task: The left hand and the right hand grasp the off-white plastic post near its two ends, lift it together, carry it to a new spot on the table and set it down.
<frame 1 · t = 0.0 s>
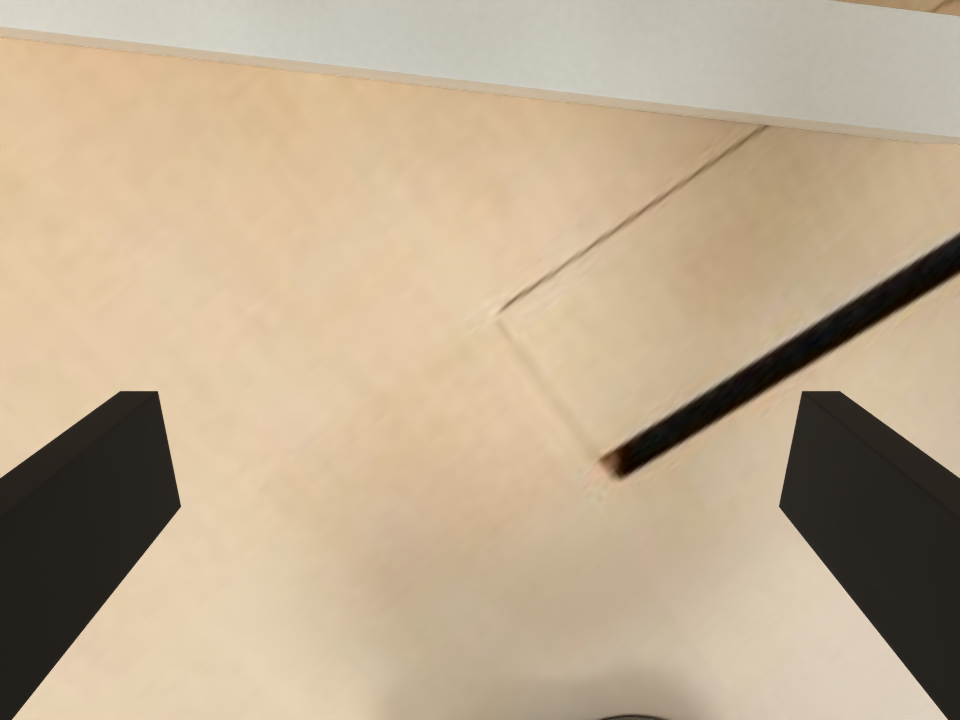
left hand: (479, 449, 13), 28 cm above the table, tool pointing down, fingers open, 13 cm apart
post: (314, 24, 35), on the table
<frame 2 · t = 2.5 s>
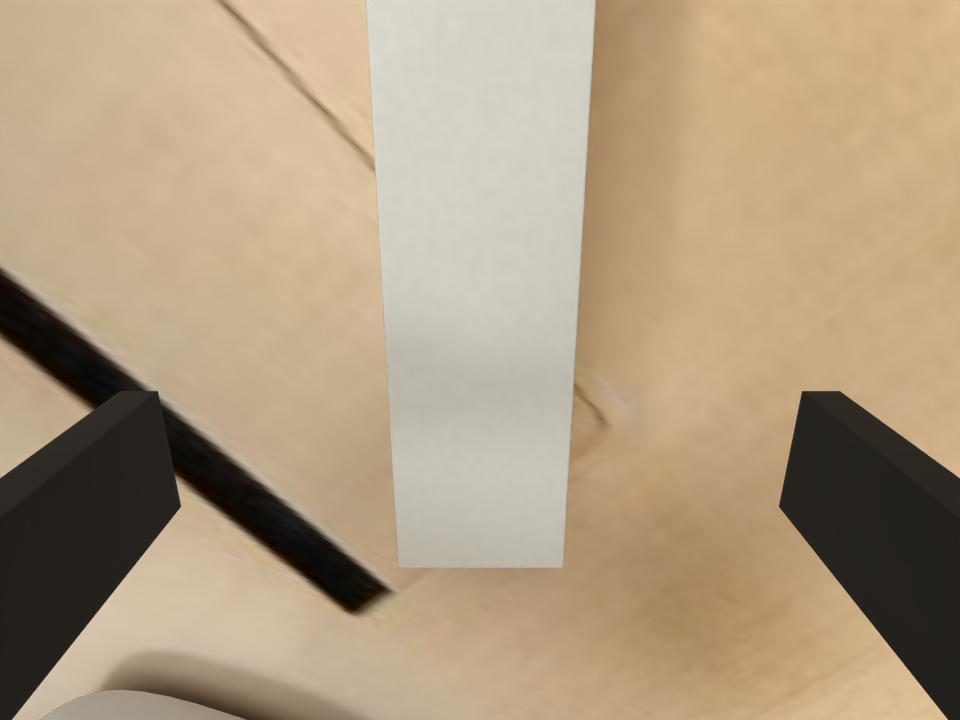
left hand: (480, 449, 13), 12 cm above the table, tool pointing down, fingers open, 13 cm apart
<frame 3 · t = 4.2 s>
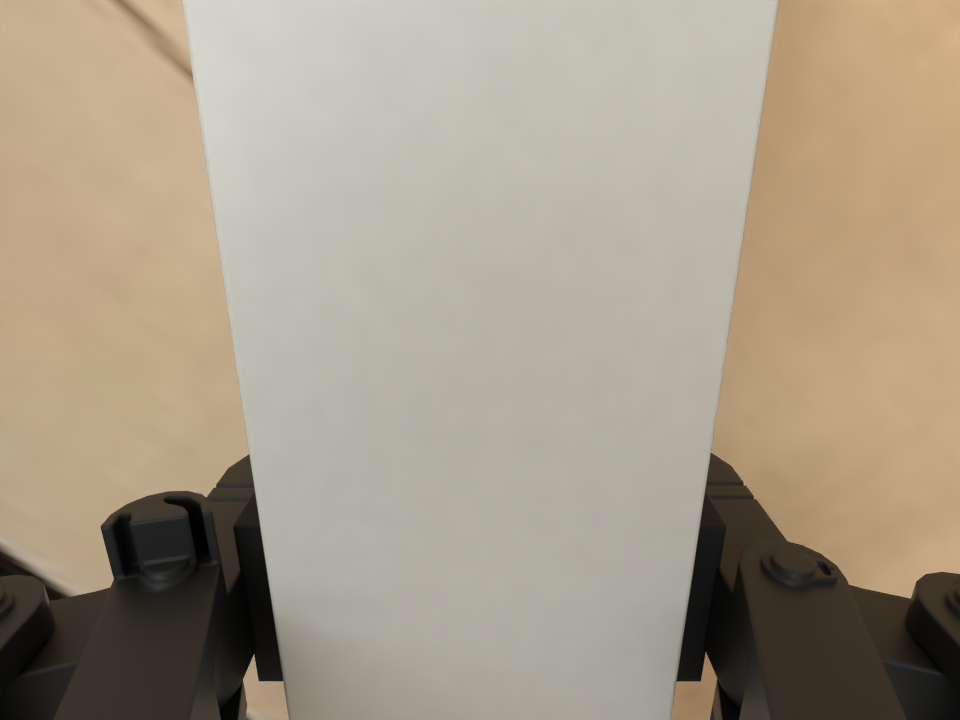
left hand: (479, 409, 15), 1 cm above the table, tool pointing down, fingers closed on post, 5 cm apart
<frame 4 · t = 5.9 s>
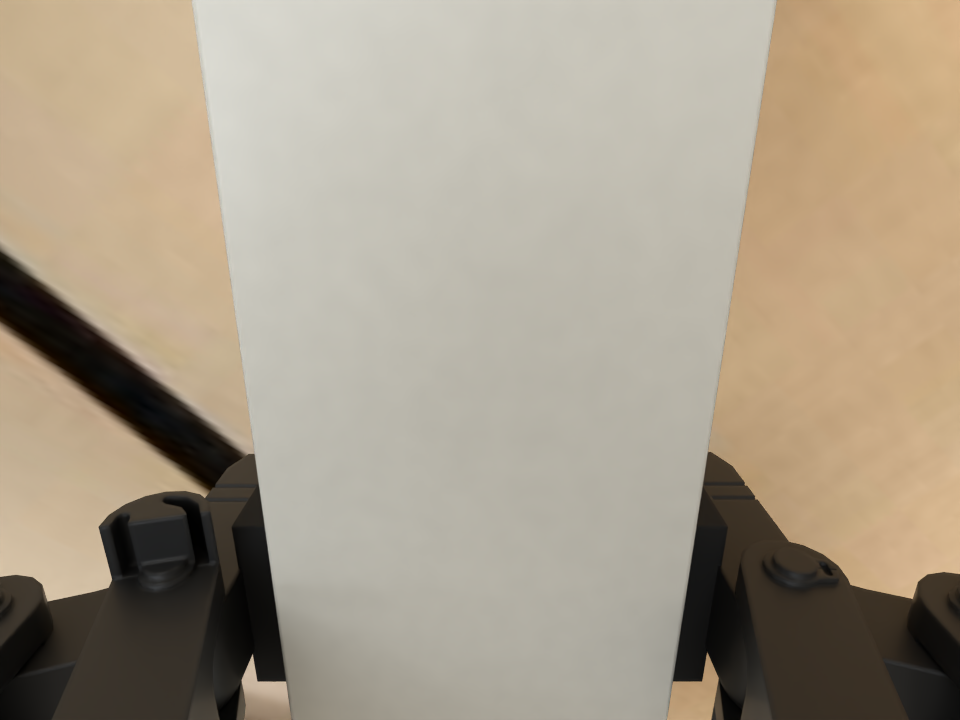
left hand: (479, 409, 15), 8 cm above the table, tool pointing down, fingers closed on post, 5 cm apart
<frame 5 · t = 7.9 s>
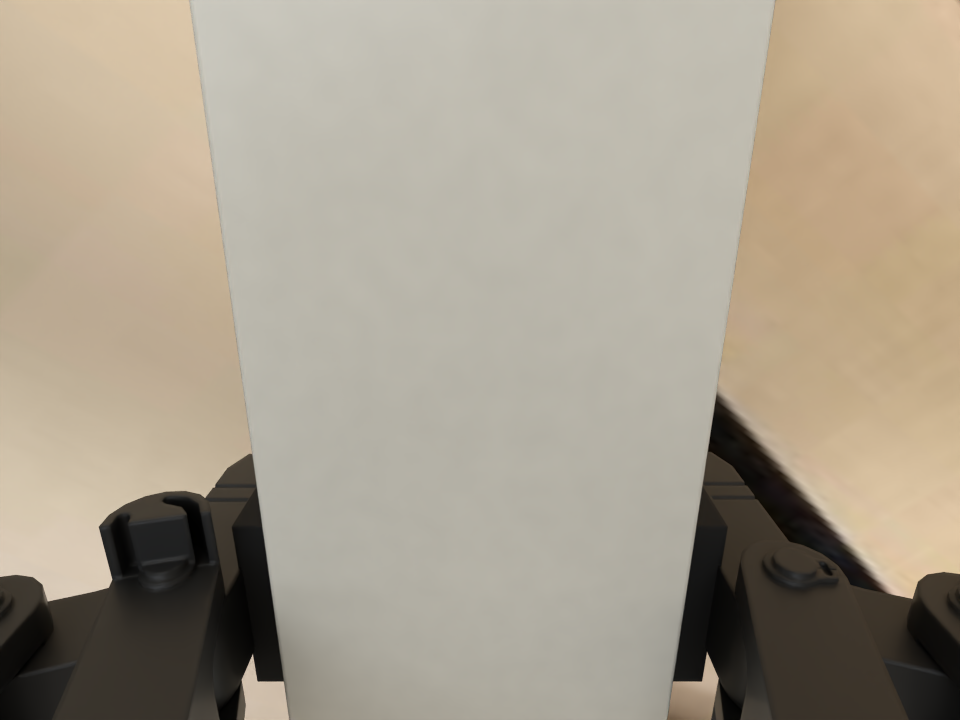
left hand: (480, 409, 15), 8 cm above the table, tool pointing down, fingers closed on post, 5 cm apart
when the left hand's fingers open (2 cm above the table, at t = 9.5 s): post stays where it is, on the table.
when the right hand's fingers open (4 cm above the table, at t = 9.7 s): post stays where it is, on the table.
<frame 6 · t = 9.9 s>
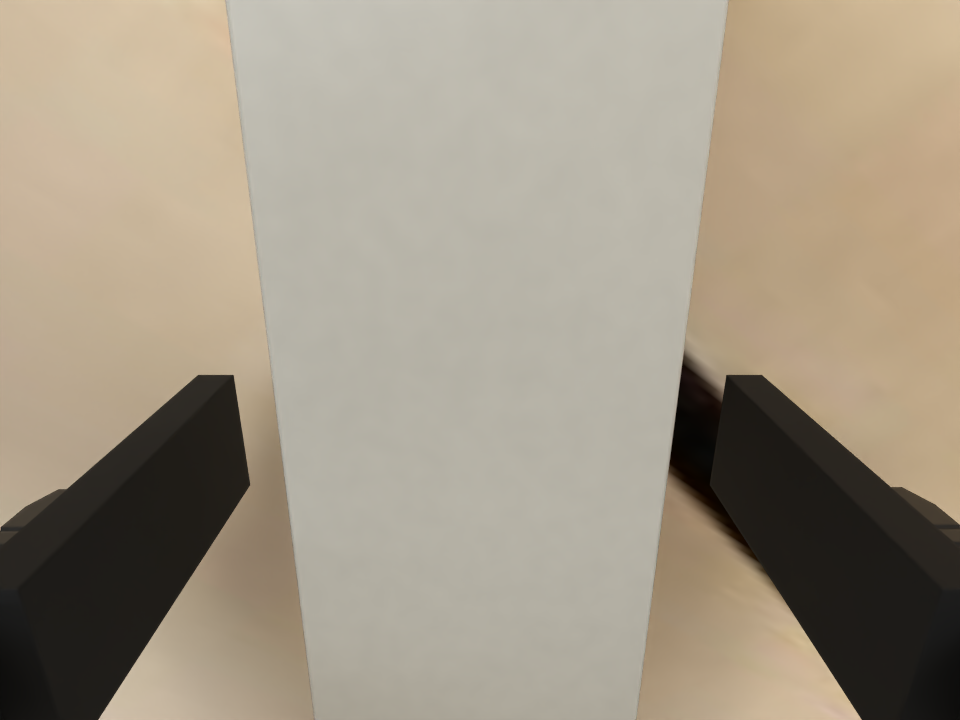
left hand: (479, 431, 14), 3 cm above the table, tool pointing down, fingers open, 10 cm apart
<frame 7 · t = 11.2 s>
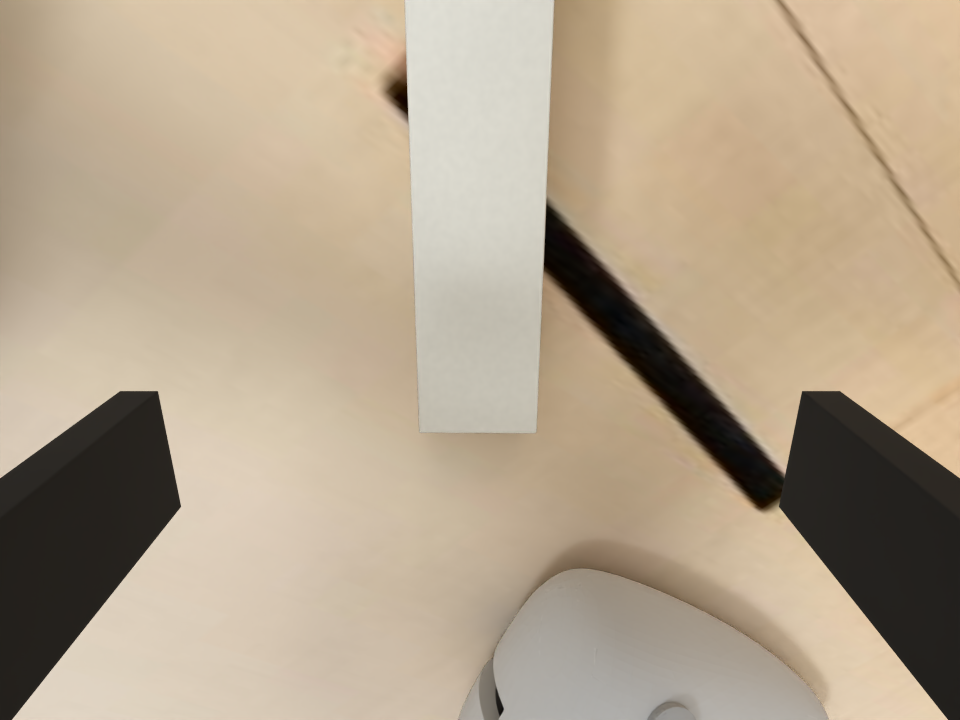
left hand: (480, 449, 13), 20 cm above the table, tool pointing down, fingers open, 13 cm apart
projector: (644, 667, 41), on the table
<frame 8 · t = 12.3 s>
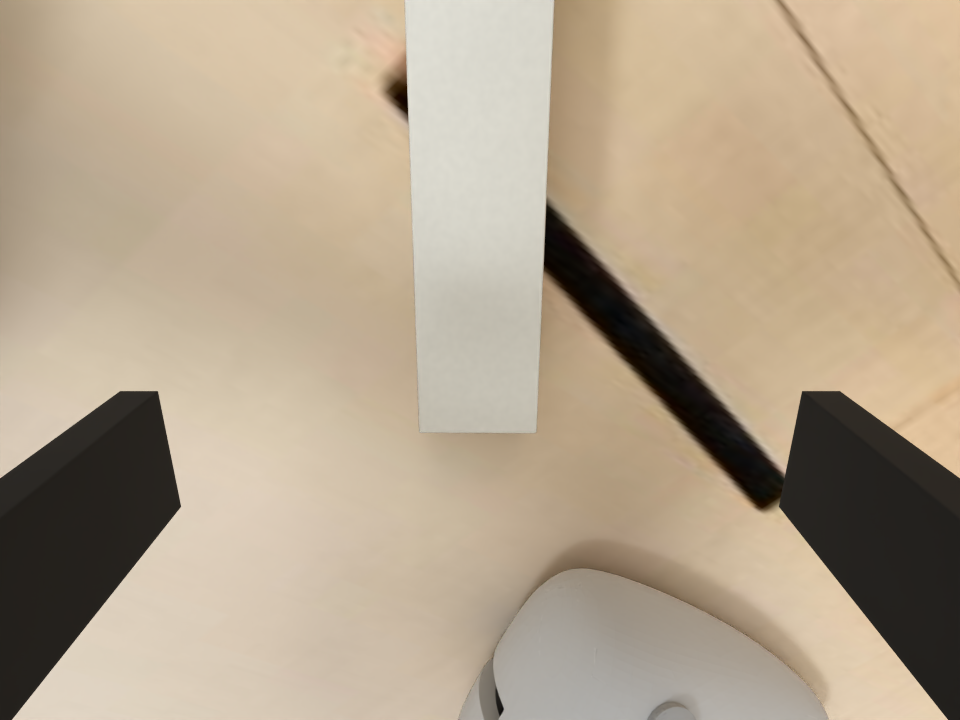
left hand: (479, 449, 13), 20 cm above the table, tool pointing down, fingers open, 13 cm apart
projector: (644, 667, 41), on the table
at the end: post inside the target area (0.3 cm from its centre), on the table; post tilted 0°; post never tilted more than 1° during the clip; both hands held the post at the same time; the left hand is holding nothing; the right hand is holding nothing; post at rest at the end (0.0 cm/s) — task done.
